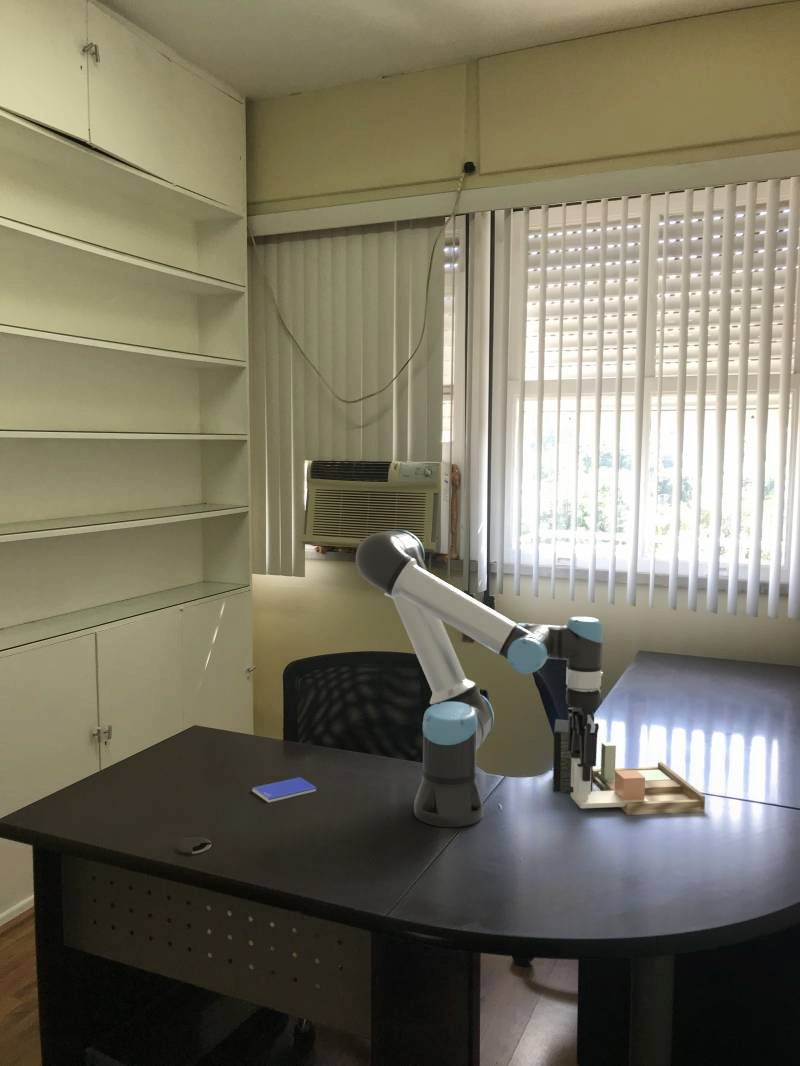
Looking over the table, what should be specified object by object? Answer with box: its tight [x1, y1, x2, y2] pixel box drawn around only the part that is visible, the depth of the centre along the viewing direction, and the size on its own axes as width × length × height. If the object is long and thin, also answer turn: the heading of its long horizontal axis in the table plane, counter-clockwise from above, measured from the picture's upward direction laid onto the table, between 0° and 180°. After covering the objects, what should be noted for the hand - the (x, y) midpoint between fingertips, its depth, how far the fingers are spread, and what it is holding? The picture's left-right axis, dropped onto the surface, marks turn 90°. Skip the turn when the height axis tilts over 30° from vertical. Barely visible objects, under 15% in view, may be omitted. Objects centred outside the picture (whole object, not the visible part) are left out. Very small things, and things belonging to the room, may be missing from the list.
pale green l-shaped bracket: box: [598, 741, 671, 783], centre depth 205 cm, size 16×7×9 cm, turn 98°
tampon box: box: [552, 718, 594, 794], centre depth 205 cm, size 11×9×15 cm
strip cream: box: [570, 761, 649, 809], centre depth 192 cm, size 16×7×9 cm, turn 98°
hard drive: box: [252, 776, 317, 803], centre depth 200 cm, size 2×8×12 cm
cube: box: [614, 770, 645, 800], centre depth 193 cm, size 5×5×5 cm
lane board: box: [592, 761, 706, 816], centre depth 200 cm, size 18×22×4 cm
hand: (580, 789), depth 191 cm, fingers open, 4 cm apart
